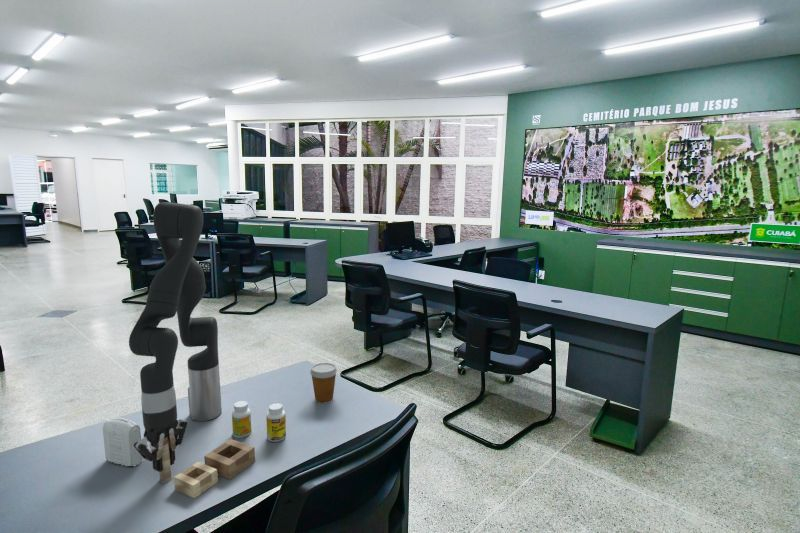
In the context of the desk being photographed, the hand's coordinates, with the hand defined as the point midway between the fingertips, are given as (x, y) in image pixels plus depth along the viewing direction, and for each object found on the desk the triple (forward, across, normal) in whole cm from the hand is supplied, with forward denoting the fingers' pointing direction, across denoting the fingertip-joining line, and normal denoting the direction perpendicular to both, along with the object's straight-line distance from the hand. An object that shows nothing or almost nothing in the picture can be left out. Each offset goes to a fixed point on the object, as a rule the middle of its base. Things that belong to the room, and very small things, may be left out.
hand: (164, 466), depth 112 cm
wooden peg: (+4, 0, 0) cm, 4 cm away
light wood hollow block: (+4, -2, +9) cm, 10 cm away
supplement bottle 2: (+4, -28, +12) cm, 31 cm away
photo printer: (+4, 0, -17) cm, 17 cm away
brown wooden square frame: (+4, -12, +10) cm, 16 cm away
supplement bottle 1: (+4, -25, +1) cm, 25 cm away
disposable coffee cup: (+4, -55, +10) cm, 56 cm away
